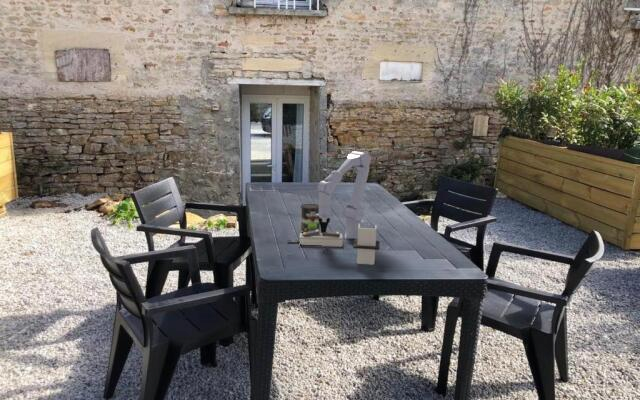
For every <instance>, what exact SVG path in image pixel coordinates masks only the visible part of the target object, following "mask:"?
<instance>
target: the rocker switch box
mask: <svg viewBox="0 0 640 400" xmlns="http://www.w3.org/2000/svg"><path fill="white" fill-rule="evenodd" d="M288 241H297V242H300V243H299V245H300V244H305V245H322V246H321V247H339V248H340V247H343V234H342V233H339V237H328V236H323V233H320V235H315V236H311V237H303V233H302V232H300V233H299V240H298V239H296V240H295V239H287V242H288Z"/></svg>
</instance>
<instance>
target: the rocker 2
mask: <svg viewBox="0 0 640 400" xmlns="http://www.w3.org/2000/svg"><path fill="white" fill-rule="evenodd" d="M322 234H323V236H328V237H339V234H340V232H339V231H333V230H332V231H331V230H326V232H323V233H322Z"/></svg>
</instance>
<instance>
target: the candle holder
mask: <svg viewBox="0 0 640 400" xmlns="http://www.w3.org/2000/svg"><path fill="white" fill-rule="evenodd" d="M380 244H381V242H380V240H377V225H376V224H375V228H371V227H370V228H367V227H364V228H360V224H359V226H358V239H354V240H353V249H357V255H356V258H357V259H356V263H357V264H358V265H359V264H360V265H375V259H376V258H375V257H376V256H375V255H376V250H377V251H378V250H380Z"/></svg>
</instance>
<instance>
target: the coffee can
mask: <svg viewBox="0 0 640 400" xmlns="http://www.w3.org/2000/svg"><path fill="white" fill-rule="evenodd" d="M300 211H301V212H300V213H301V214H300V232H301V231H303V232H308V231H313V230H317V229H319V231H320V232H321V227H320V223H319V221H318V218H320V217H319V216H316V214H319V204H313V203H305V204H301V205H300Z"/></svg>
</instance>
